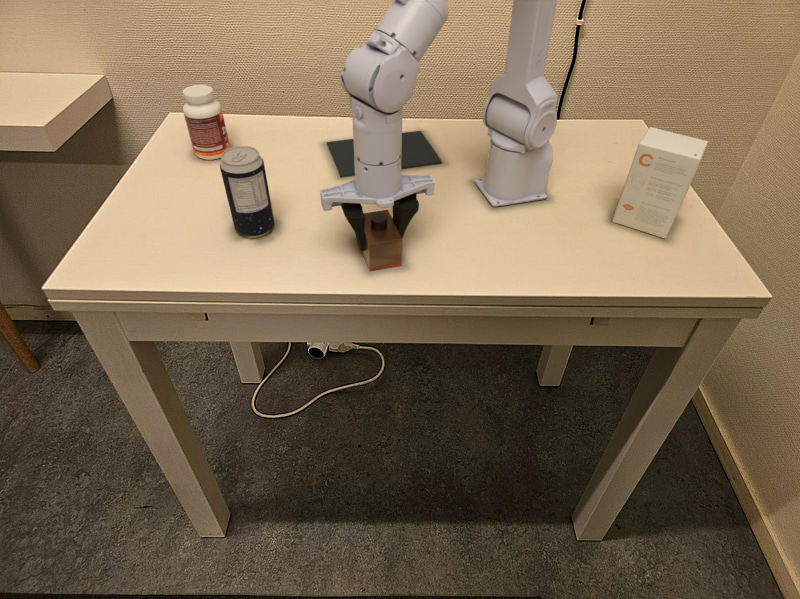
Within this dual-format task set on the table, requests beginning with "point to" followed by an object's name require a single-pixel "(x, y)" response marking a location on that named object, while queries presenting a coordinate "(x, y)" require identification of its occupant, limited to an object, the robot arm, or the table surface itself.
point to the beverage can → (247, 191)
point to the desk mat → (412, 155)
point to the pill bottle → (205, 122)
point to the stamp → (381, 241)
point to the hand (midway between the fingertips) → (378, 243)
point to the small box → (658, 181)
